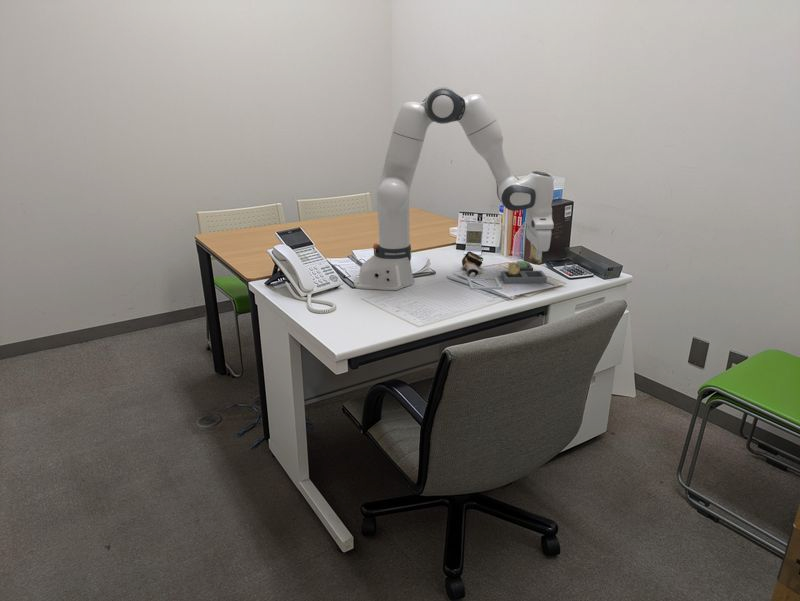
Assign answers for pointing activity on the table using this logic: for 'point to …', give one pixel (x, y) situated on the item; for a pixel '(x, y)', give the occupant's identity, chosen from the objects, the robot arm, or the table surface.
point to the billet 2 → (532, 256)
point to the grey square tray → (485, 279)
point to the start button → (522, 264)
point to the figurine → (472, 264)
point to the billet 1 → (513, 269)
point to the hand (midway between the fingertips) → (535, 256)
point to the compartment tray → (524, 278)
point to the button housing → (529, 268)
